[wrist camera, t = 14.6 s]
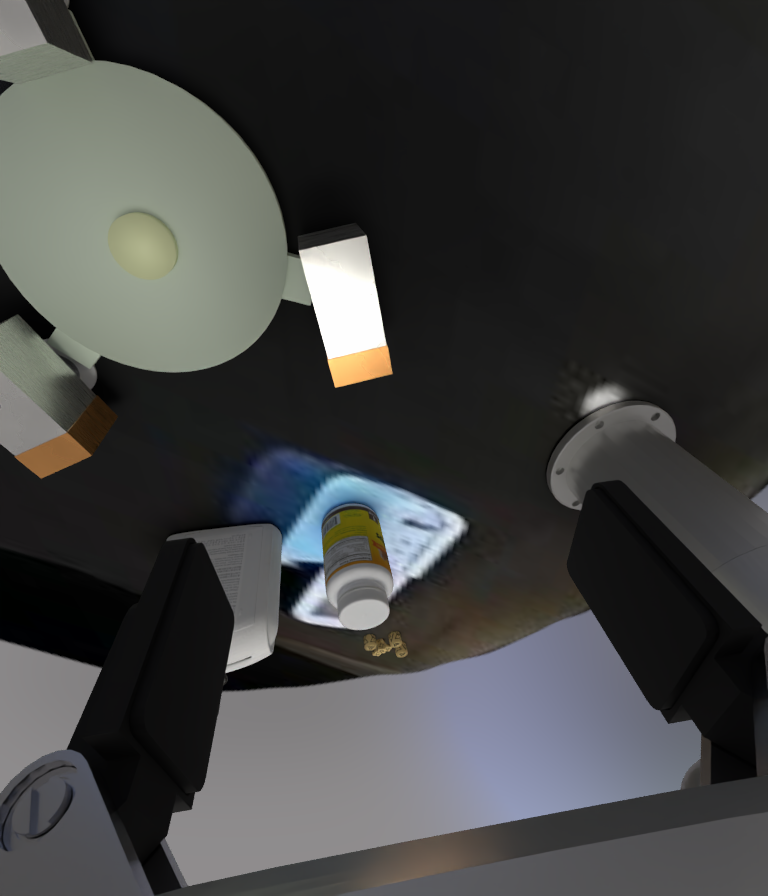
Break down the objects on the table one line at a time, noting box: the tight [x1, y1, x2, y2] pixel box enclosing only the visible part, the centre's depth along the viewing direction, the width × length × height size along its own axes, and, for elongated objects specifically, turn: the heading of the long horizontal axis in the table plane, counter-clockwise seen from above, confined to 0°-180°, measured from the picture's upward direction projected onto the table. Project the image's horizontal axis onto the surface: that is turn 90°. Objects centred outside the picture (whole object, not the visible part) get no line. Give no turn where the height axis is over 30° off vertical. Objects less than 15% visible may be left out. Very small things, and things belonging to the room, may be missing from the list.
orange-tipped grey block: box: [0, 314, 118, 478], centre depth 25 cm, size 8×4×6 cm, turn 21°
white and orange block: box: [298, 223, 392, 388], centre depth 25 cm, size 8×4×6 cm, turn 10°
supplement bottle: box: [322, 503, 393, 630], centre depth 36 cm, size 6×6×10 cm
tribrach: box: [0, 0, 313, 390], centre depth 23 cm, size 23×22×3 cm
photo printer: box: [167, 524, 282, 673], centre depth 34 cm, size 10×4×12 cm, turn 90°
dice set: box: [364, 632, 408, 658], centre depth 53 cm, size 5×5×2 cm
